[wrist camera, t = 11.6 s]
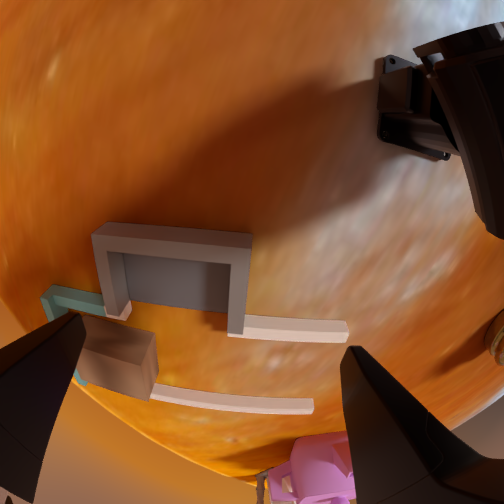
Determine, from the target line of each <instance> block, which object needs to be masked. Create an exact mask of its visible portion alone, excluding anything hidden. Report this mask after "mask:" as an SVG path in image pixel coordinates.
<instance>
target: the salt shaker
mask: <svg viewBox="0 0 504 504" xmlns="http://www.w3.org/2000/svg"><path fill="white" fill-rule="evenodd" d="M484 344H485V346H486V348H487V349H488V350H489V352H490V354H491V355H492V356H495V361H496V363H497V365H499V366H504V310H503V311H502V312H501V313H500V314H499V315H498V316H497V317H496V319H495V320H494V321H493V323H492V324H491V326H490V327H489V329H488V331H487V333H486V336H485V340H484Z"/></svg>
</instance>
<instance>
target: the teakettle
mask: <svg viewBox="0 0 504 504" xmlns="http://www.w3.org/2000/svg"><path fill="white" fill-rule="evenodd" d="M286 476H290V483H291V487H292V491H293V492H288V493H282V478H284V477H286ZM268 478H269V486H270V494H271V501H296V504H327V503H330V504H350V503H349V501H348V500H349V499H354V498H356V492H355V484H354V476H353V469H352V461H351V455H350V448H349V442H348V435H347V430H346V431H339V432H332V433H325V434H318V435H311V436H305V437H300V438H297V439H296V441H295V443H294V446H293V449H292V452H291V455H290V460H289V461H287V462H285V463H283V464H281V465H279V466H277V467H275V468H273V469H271V470H269V471H268Z"/></svg>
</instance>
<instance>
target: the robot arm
mask: <svg viewBox="0 0 504 504" xmlns="http://www.w3.org/2000/svg"><path fill="white" fill-rule="evenodd" d="M413 51H414V52H415V54H416V55H417V57H418V58H419V57H420V59H421V61H422V63H423V64H420V65H417V64H414V63H412V62H409V61H407V60H404V59H402V58H399V57H397V56H394V55H388V56H386V57H385V58H384V63H383V75H381V76H380V81H379V94H378V104H377V109H378V111H379V112H380V113H379V121H378V129H377V136H378V138H379V139H380V140H381V141H383V142H387V143H391V144H395V145H398V146H402V147H405V148H408V149H412V150H415V151H418V152H421V153H424V154H427V155H430V156H433V157H436V158H439V159H442V160H445V161H447V160H449V158H450V156H451V154H454V155H458V156H461V159H462V162H463V165H464V169H465V172H466V175H467V179H468V183H469V186H470V190H471V194H472V199H473V203H474V208H475V212H476V213H477V214H478V216H479V217H480V219H481V220H482V221H483V222H484V223H485V226H486V230H487V231H488V232H490V233H491V234H493V235H494V236H496V237H498V238H500V239H503V240H504V22H498V23H494V24H489V25H485V26H481V27H477V28H473V29H469V30H465V31H462V32H459V33H455V34H452V35H449V36H446V37H443V38H440V39H437V40H434V41H431V42H429V43H426V44H423V45H421V46H418V47H416V48H413ZM389 59H391V60H392V61H393V64H391V63H390V62H389ZM384 131H385V132H386V133H387V136H386V137H385V138H384V137H383V132H384ZM444 152H445V156H444ZM86 335H87V332H86V328H85V325H84V322H83V319H82V317H81V315H80V314H79V313H76V312H71V311H70V312H68V313H66V314H64V315H62V316H60V317H58V318H56V319H54V320H53V321H51V322H49V323H47V324H45V325H43V326H41V327H39V328H38V329H36V330H34V331H32V332H30V333H28V334H26V335H25V336H23V337H21V338H19V339H17V340H16V341H14V342H12V343H10V344H8V345H7V346H5V347H3V348H1V349H0V504H13V503H12V500H11V498H10V497H9V496H8V492H10V493H13V494H14V495H16V496H18V497H20V498H22V499H23V500H25V501H27V502H29V503H31V504H32V503H33V501H34V497H35V492H36V487H37V483H38V478H39V474H40V470H41V466H42V463H43V462H42V461H43V459H44V455H45V452H46V448H47V445H48V442H49V439H50V435H51V432H52V429H53V426H54V423H55V421H56V418H57V415H58V412H59V410H60V407H61V404H62V401H63V399H64V396H65V394H66V392H67V389H68V387H69V384H70V382H71V379H72V377H73V374H74V372H75V369H76V366H77V363H78V360H79V357H80V354H81V351H82V348H83V345H84V342H85V339H86ZM340 375H341V388H342V403H343V412H344V418H345V423H346V429H347V435H348V442H349V448H350V455H351V461H352V469H353V476H354V484H355V492H356V501H357V504H504V459H492V458H487V457H485V456H483V455H481V454H479V453H478V452H476V451H475V450H474V449H472V448H471V447H469V445H467V444H466V443H465V442H463V441H462V440H461V439H460V438H458V437H457V436H456V435H455V434H453V433H452V432H451V431H450V430H449V429H447V428H446V427H445V426H444V425H443V424H442V423H441V422H440V421H439V420H437V419H436V418H435V417H434V416H433V415H432V414H431V413H430V412H428V410H427V409H426V408H425V407H424V406H423V405H422V404H421V403H420V402H419V401H418V400H417V399H416V398H415V397H414V396H413V395H412V394H411V393H410V392H409V391H407V390H406V389H405V388H404V387H403V386H402V385H401V384H400V383H399V382H398V381H397V380H396V379H395V378H394V377H393V376H392V375H391V374H390V373H389V372H388V371H387V370H386V369H385V368H384V367H383V366H382V365H381V364H379V363H378V362H377V361H376V360H375V359H374V358H373V357H372V356H371V355H370V354H369V353H368V352H367V351H366V350H365V349H364V348H363V347H362V346H349V347H348V348H347V350H346V352H345V354H344V357H343V359H342V361H341V364H340Z"/></svg>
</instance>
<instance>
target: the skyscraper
mask: <svg viewBox="0 0 504 504" xmlns="http://www.w3.org/2000/svg"><path fill="white" fill-rule="evenodd" d="M271 469H273V468H270V469H268V470H266V471H264V472H261V473H259V474H257V475H255V477H256V478H257V487H256V490H257V504H264V503H263V502H264V501H263V497H264V490H265V486H264V481H265V478H267V485H268V492H269V498H270V504H296V501H271V494H270V486H269V478H268V471H269V470H271ZM288 492H293V491H292V487H291V483H290V476H286V477H284V478H282V493H288Z"/></svg>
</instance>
